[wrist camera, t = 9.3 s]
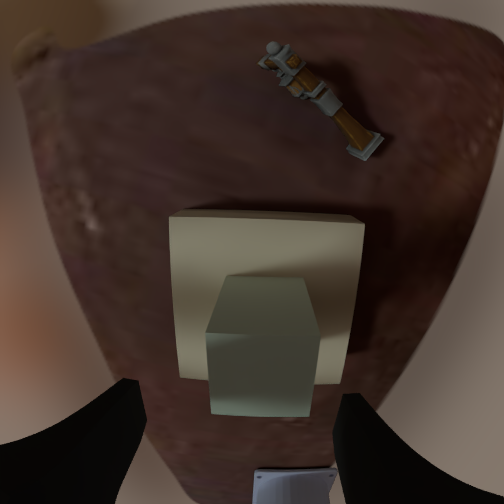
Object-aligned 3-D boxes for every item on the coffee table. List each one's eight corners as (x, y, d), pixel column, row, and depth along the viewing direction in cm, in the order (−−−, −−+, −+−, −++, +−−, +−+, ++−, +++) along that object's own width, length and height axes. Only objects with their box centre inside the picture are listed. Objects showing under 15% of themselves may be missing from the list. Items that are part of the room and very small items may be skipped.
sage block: (298, 343, 17) (308, 416, 12) (227, 341, 18) (211, 413, 12) (303, 277, 16) (320, 335, 11) (226, 275, 16) (205, 332, 11)
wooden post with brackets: (258, 40, 15) (287, 29, 11) (345, 124, 19) (386, 139, 15) (238, 61, 15) (261, 55, 12) (328, 143, 20) (367, 162, 16)
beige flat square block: (331, 357, 21) (339, 383, 18) (190, 352, 21) (180, 377, 18) (350, 215, 18) (364, 223, 15) (183, 209, 19) (169, 216, 16)
